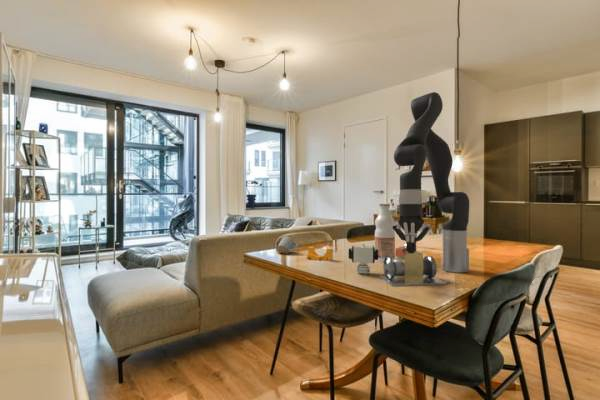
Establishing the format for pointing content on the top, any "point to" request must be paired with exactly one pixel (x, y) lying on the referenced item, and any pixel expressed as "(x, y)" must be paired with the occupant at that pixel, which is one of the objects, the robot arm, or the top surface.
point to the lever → (402, 250)
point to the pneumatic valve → (363, 257)
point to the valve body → (411, 270)
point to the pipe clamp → (314, 256)
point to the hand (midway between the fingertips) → (411, 253)
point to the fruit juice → (384, 234)
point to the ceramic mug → (286, 245)
